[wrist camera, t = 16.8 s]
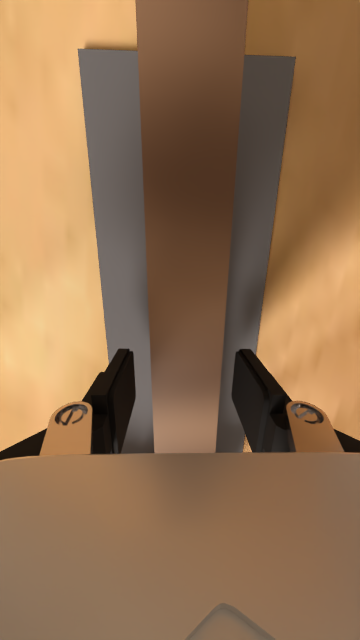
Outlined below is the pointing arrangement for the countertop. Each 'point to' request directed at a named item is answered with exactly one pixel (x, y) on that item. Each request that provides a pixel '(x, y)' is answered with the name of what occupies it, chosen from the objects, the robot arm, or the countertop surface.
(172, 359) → the bar
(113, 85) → the mat
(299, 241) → the countertop surface
